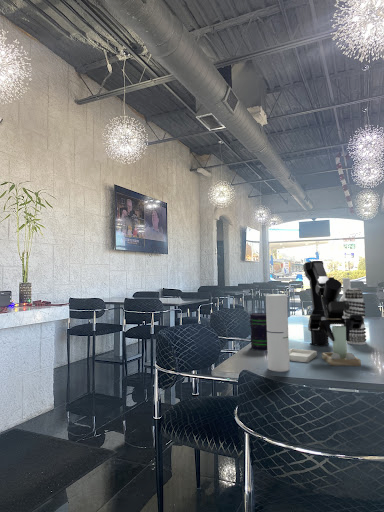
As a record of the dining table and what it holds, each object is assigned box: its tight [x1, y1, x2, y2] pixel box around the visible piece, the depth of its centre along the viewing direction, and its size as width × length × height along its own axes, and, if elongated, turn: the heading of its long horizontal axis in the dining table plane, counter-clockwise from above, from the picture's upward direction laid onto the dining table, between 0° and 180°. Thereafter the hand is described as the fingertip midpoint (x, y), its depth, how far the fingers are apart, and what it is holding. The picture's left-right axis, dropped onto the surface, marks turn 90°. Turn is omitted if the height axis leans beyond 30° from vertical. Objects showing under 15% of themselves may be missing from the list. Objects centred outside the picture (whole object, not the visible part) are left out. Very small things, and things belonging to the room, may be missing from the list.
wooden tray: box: [321, 352, 362, 367], centre depth 126 cm, size 12×10×2 cm
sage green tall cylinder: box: [331, 325, 348, 359], centre depth 126 cm, size 5×5×11 cm
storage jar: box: [249, 312, 267, 352], centre depth 153 cm, size 10×10×15 cm
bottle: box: [338, 277, 352, 326], centre depth 175 cm, size 8×8×30 cm
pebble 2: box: [346, 352, 356, 360], centre depth 122 cm, size 3×3×3 cm
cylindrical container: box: [265, 293, 291, 373], centre depth 119 cm, size 7×7×25 cm
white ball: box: [331, 352, 340, 359], centre depth 123 cm, size 3×3×3 cm
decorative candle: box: [344, 288, 367, 346], centre depth 161 cm, size 9×9×25 cm
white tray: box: [289, 348, 318, 364], centre depth 133 cm, size 12×10×2 cm
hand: (340, 340), depth 125 cm, fingers closed on sage green tall cylinder, 5 cm apart
